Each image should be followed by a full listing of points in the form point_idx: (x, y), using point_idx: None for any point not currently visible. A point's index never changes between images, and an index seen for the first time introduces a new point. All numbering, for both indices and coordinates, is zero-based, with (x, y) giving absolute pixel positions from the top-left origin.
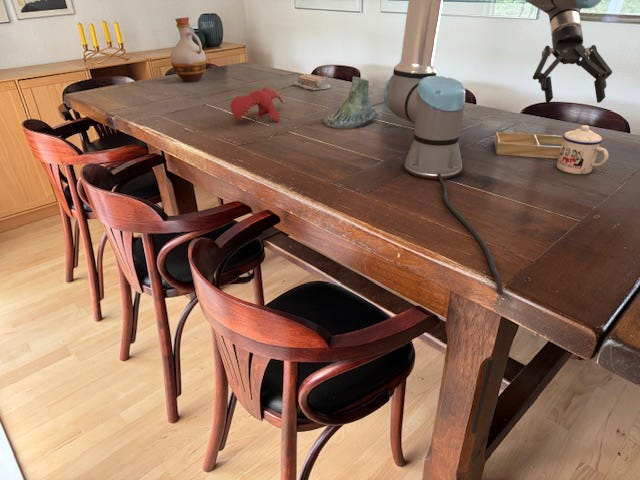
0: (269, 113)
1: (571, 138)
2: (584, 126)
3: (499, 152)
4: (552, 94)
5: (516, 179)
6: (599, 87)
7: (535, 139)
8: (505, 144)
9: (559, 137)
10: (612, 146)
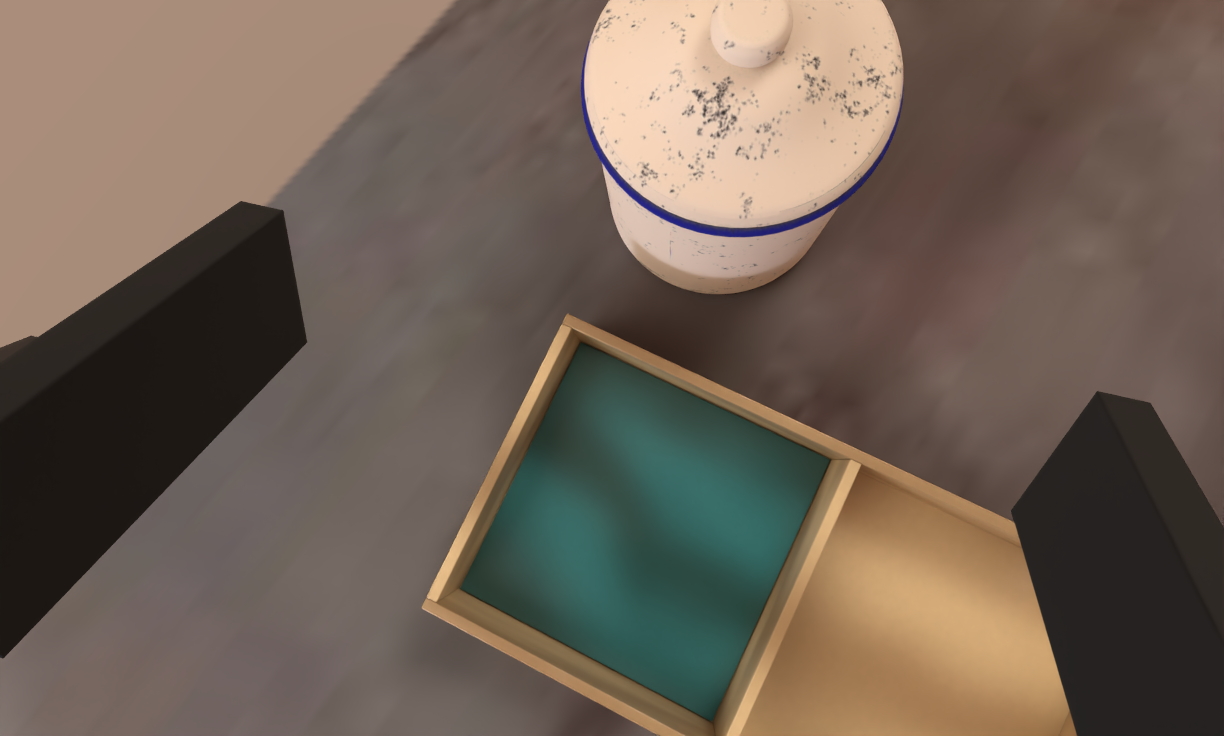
0: None
1: (893, 25)
2: (772, 6)
3: None
4: (1123, 437)
5: (1201, 100)
6: (145, 366)
7: (786, 630)
8: None
9: (530, 646)
10: (140, 534)
